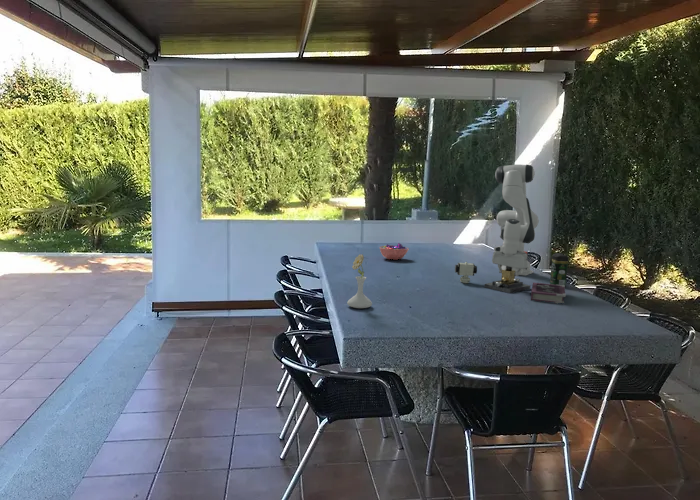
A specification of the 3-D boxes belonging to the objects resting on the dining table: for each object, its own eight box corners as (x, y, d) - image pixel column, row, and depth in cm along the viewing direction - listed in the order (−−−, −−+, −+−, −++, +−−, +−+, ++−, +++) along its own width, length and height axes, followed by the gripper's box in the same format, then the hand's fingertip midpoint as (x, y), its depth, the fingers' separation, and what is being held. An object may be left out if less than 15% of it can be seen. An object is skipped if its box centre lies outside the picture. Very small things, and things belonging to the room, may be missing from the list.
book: (564, 305, 285) (565, 295, 284) (530, 301, 290) (531, 291, 289) (563, 294, 309) (564, 285, 308) (532, 291, 314) (533, 282, 313)
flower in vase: (347, 303, 268) (349, 250, 264) (371, 304, 268) (374, 251, 264) (346, 310, 255) (348, 255, 251) (372, 311, 255) (374, 256, 251)
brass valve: (508, 282, 321) (509, 263, 319) (516, 284, 317) (517, 264, 315) (498, 284, 315) (500, 264, 313) (506, 286, 311) (508, 266, 309)
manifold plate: (505, 283, 329) (505, 275, 328) (530, 288, 317) (530, 281, 316) (484, 287, 316) (484, 279, 315) (509, 293, 304) (510, 285, 303)
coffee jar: (547, 283, 333) (550, 252, 330) (561, 284, 333) (564, 252, 330) (553, 287, 324) (556, 254, 321) (567, 288, 324) (570, 255, 321)
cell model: (376, 257, 400) (377, 240, 398) (405, 257, 402) (406, 241, 401) (380, 261, 383) (381, 244, 382) (410, 262, 386) (411, 245, 384)
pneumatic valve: (475, 284, 324) (477, 263, 322) (454, 283, 324) (456, 262, 322) (474, 282, 329) (475, 261, 327) (453, 281, 329) (455, 260, 328)
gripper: (530, 251, 307) (528, 277, 309) (498, 246, 322) (496, 270, 325) (524, 252, 303) (522, 278, 305) (491, 247, 318) (489, 271, 320)
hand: (508, 274), depth 315 cm, fingers open, 8 cm apart
